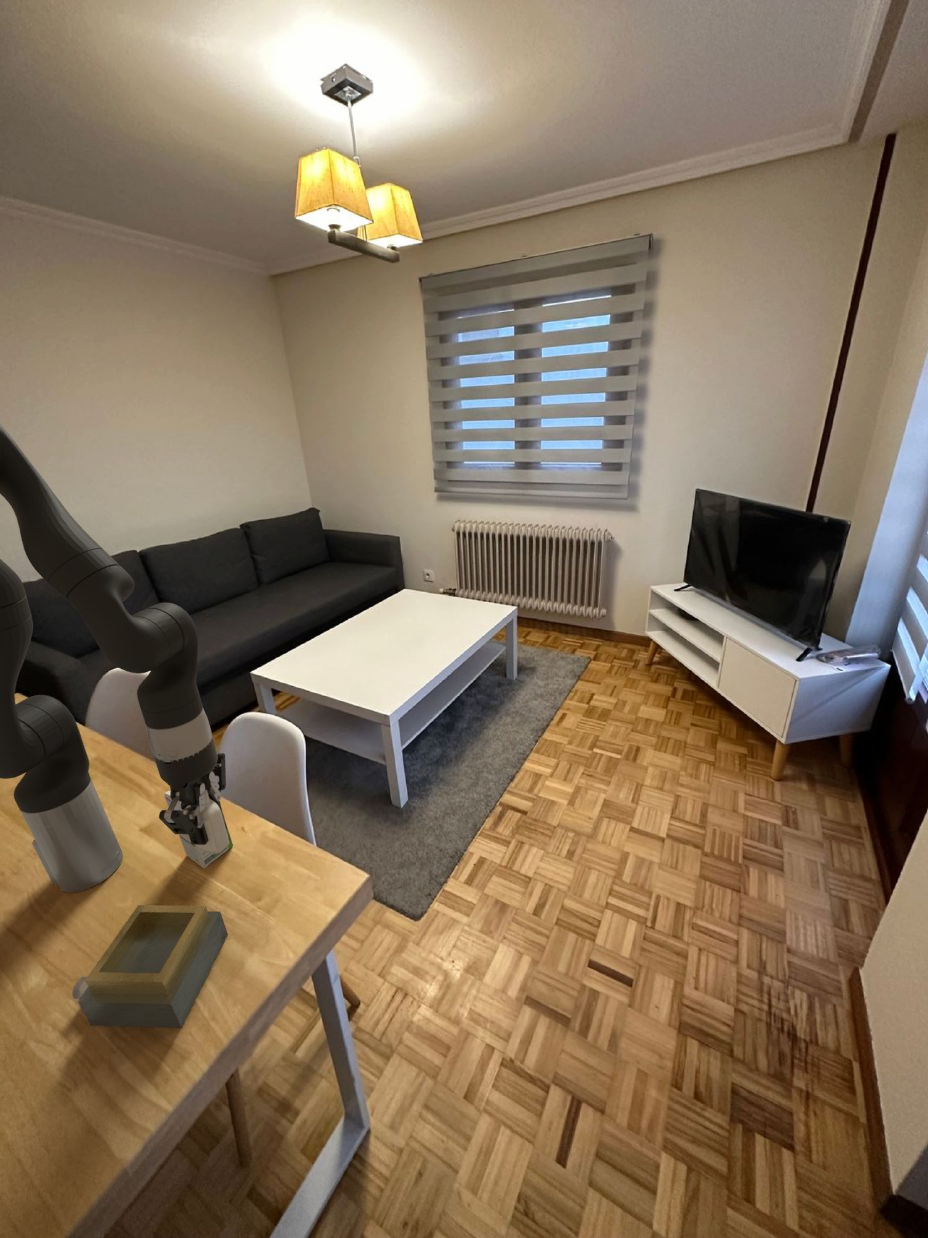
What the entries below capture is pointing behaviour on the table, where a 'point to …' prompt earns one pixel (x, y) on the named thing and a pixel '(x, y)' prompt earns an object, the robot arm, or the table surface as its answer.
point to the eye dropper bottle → (213, 827)
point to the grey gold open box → (153, 968)
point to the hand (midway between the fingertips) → (208, 831)
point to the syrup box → (193, 850)
